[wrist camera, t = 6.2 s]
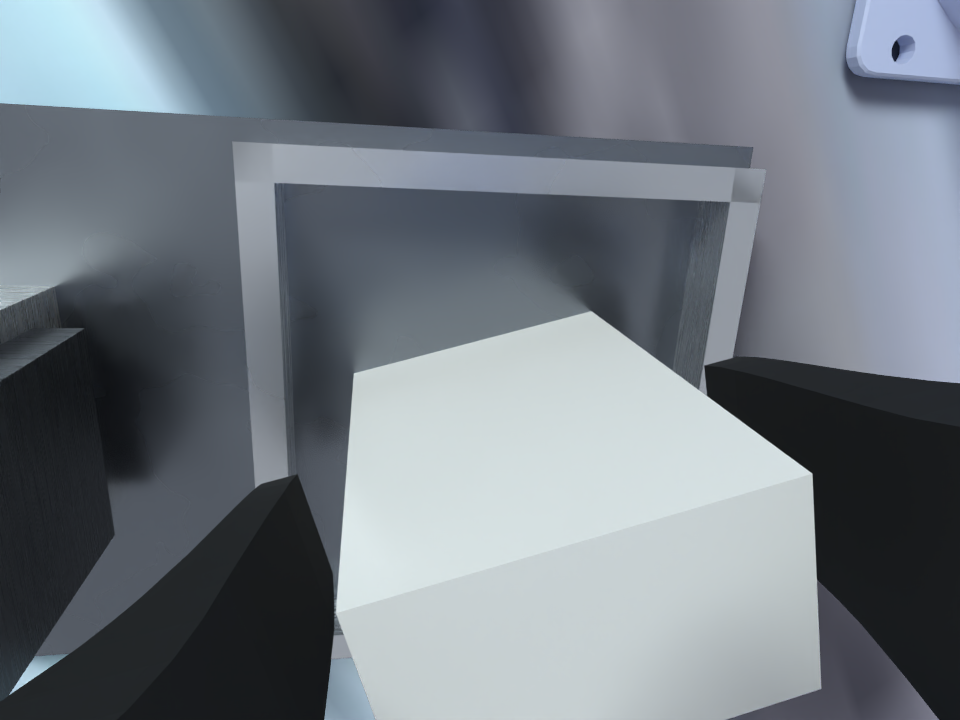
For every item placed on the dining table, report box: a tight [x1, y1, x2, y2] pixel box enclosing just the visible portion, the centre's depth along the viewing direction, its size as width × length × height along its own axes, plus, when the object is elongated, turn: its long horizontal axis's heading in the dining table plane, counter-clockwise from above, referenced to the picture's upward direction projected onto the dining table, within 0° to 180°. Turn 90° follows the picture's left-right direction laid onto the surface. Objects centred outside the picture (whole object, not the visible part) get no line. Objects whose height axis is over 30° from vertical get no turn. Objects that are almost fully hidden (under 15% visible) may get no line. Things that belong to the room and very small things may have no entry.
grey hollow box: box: [0, 103, 766, 701], centre depth 10 cm, size 20×11×8 cm, turn 87°
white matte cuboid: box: [336, 311, 821, 720], centre depth 10 cm, size 4×5×7 cm
